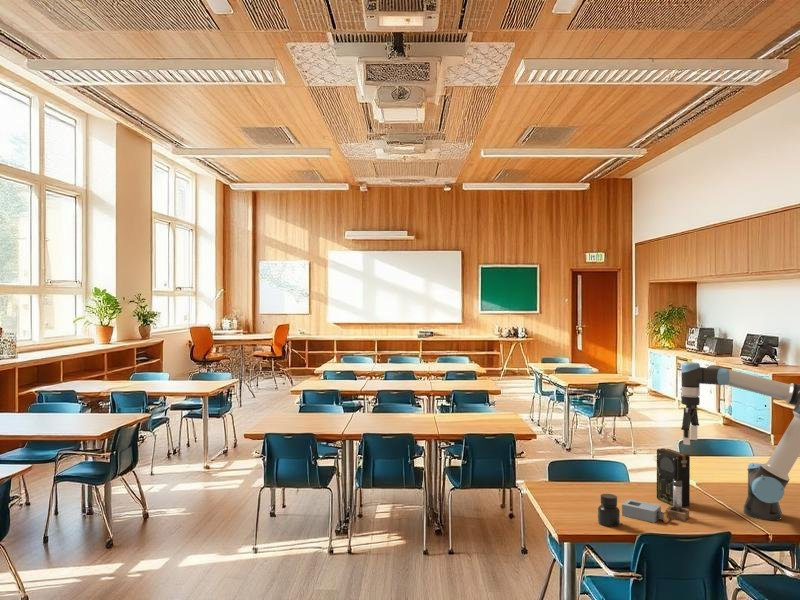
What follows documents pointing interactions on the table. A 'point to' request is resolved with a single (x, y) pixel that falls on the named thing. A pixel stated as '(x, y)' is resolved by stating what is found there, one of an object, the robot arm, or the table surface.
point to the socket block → (640, 510)
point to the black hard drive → (672, 475)
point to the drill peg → (677, 495)
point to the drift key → (663, 516)
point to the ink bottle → (609, 511)
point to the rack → (678, 514)
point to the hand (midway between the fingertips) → (690, 442)
